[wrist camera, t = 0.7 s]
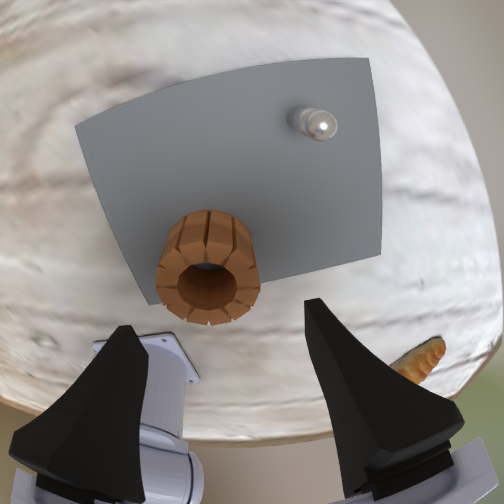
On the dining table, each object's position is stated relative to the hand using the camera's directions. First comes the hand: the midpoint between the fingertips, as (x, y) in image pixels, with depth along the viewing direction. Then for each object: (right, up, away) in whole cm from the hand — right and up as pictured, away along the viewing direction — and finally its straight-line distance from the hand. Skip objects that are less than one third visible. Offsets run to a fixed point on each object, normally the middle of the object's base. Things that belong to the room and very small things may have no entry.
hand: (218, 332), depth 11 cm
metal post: (+4, +11, +3) cm, 12 cm away
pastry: (+23, -11, +21) cm, 33 cm away
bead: (-1, +3, +7) cm, 8 cm away
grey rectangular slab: (+1, +8, +7) cm, 10 cm away
